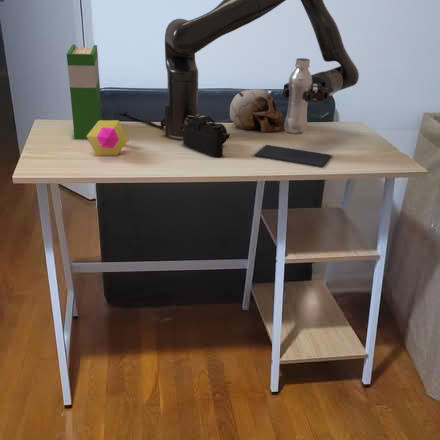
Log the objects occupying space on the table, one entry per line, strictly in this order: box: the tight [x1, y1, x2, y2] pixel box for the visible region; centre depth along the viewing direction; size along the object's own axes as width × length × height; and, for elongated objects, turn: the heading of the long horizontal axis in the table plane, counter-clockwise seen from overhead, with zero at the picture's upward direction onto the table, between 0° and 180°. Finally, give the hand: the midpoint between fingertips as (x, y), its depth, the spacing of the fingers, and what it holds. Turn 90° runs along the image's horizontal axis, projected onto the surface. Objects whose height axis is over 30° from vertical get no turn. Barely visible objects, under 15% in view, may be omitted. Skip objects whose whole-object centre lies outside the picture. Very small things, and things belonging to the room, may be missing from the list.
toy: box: [87, 119, 130, 157], centre depth 157 cm, size 10×18×10 cm, turn 11°
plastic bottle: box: [284, 57, 312, 136], centre depth 155 cm, size 6×7×20 cm
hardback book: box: [66, 44, 103, 140], centre depth 171 cm, size 18×7×24 cm, turn 8°
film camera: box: [180, 113, 231, 158], centre depth 164 cm, size 18×12×10 cm
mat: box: [254, 144, 332, 168], centre depth 163 cm, size 20×11×1 cm, turn 68°
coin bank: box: [229, 88, 285, 133], centre depth 186 cm, size 16×17×13 cm
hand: (295, 95), depth 152 cm, fingers closed on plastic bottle, 6 cm apart
